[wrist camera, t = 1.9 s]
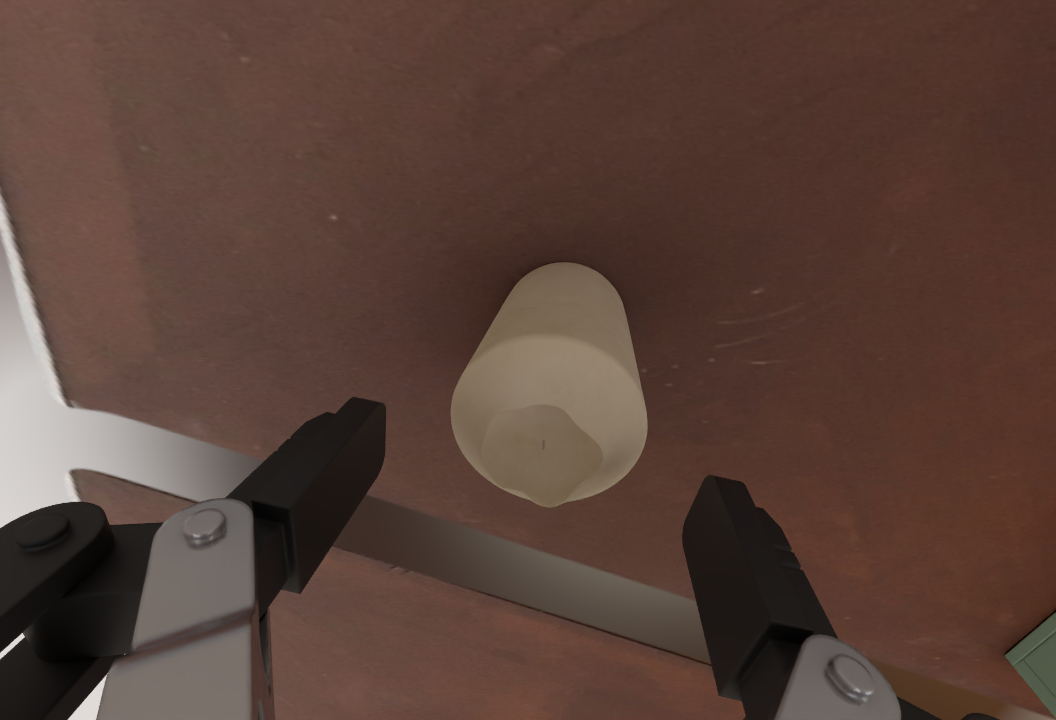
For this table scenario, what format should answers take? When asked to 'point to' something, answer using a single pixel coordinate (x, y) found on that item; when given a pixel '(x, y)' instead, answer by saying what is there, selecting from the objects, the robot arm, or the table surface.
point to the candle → (553, 390)
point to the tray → (1038, 662)
